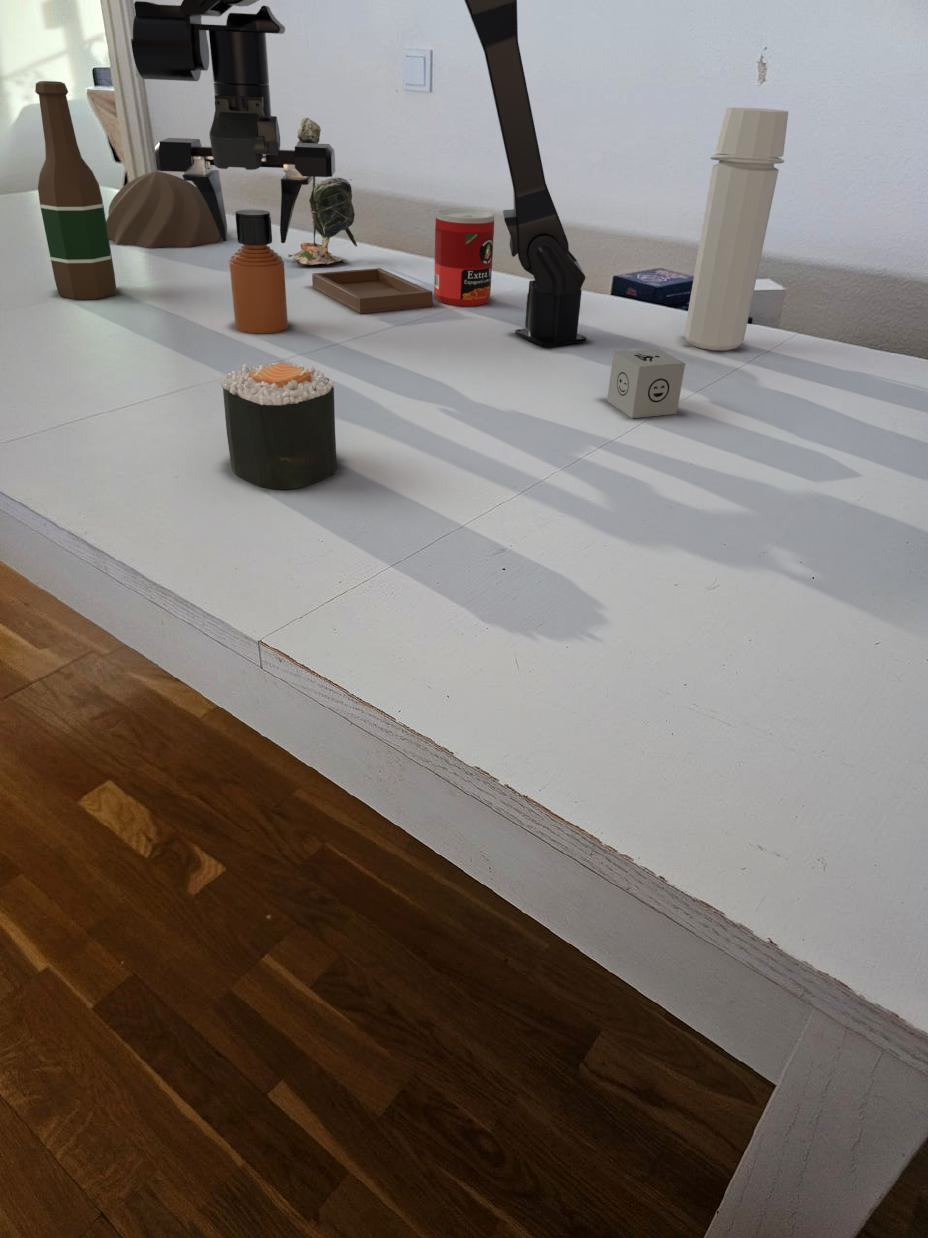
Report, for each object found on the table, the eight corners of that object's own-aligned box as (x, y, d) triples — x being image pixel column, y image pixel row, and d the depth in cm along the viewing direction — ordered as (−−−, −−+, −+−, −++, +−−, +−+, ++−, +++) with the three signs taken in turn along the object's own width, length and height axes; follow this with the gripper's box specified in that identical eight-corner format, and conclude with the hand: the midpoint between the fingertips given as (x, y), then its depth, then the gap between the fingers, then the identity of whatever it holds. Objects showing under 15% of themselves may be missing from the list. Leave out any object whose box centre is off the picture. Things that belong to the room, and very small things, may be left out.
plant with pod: (365, 266, 139) (362, 119, 129) (291, 268, 136) (283, 117, 125) (354, 256, 146) (350, 115, 135) (283, 257, 143) (274, 113, 132)
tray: (432, 306, 120) (432, 291, 119) (360, 313, 115) (359, 298, 114) (380, 281, 131) (380, 267, 130) (312, 287, 126) (311, 273, 125)
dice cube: (607, 401, 90) (613, 351, 88) (650, 397, 92) (657, 348, 89) (632, 418, 86) (639, 366, 84) (676, 413, 88) (685, 362, 85)
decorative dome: (105, 227, 158) (95, 163, 153) (220, 225, 164) (214, 164, 158) (102, 248, 143) (91, 178, 138) (230, 246, 148) (224, 179, 143)
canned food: (468, 309, 119) (472, 219, 113) (422, 298, 123) (423, 211, 117) (501, 299, 125) (506, 213, 119) (456, 289, 129) (458, 206, 123)
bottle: (295, 330, 108) (289, 222, 101) (245, 335, 105) (235, 224, 98) (277, 317, 112) (269, 213, 106) (228, 322, 109) (217, 215, 103)
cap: (273, 245, 102) (271, 214, 100) (238, 245, 101) (235, 214, 100) (270, 238, 105) (268, 209, 104) (237, 239, 104) (234, 209, 103)
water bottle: (748, 355, 106) (799, 113, 93) (680, 349, 107) (721, 108, 94) (741, 335, 114) (787, 108, 101) (678, 329, 115) (715, 104, 102)
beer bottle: (128, 288, 122) (96, 81, 109) (103, 301, 115) (66, 84, 102) (73, 284, 122) (34, 78, 109) (45, 298, 116) (0, 80, 103)
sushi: (287, 441, 78) (281, 348, 74) (355, 467, 74) (353, 371, 69) (211, 467, 73) (199, 369, 68) (280, 497, 68) (272, 395, 64)
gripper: (131, 82, 87) (154, 252, 96) (324, 90, 89) (330, 258, 97) (158, 78, 97) (177, 234, 105) (332, 86, 98) (338, 239, 106)
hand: (254, 241), depth 103 cm, fingers open, 6 cm apart
